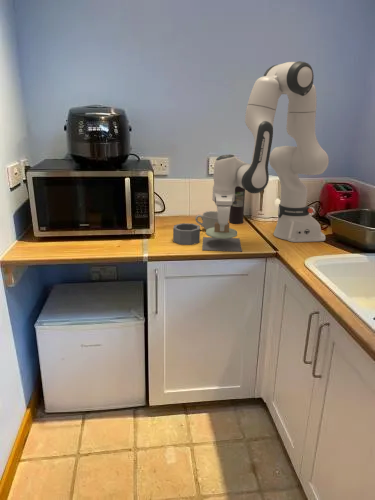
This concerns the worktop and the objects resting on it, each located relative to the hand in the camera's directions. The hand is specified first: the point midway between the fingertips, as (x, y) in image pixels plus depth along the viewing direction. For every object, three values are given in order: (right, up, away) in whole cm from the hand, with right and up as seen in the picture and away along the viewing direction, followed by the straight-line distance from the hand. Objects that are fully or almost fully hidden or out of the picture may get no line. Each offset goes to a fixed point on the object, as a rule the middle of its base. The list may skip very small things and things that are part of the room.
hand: (221, 229), depth 156 cm
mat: (0, -6, +2) cm, 7 cm away
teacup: (-4, +1, +22) cm, 22 cm away
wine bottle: (+10, +5, +35) cm, 37 cm away
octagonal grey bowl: (-15, -4, +7) cm, 17 cm away
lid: (0, -2, +1) cm, 2 cm away
